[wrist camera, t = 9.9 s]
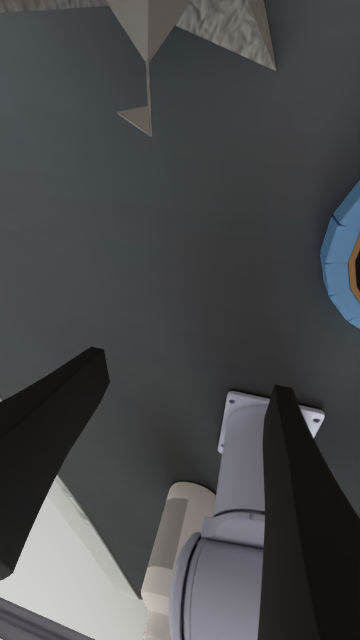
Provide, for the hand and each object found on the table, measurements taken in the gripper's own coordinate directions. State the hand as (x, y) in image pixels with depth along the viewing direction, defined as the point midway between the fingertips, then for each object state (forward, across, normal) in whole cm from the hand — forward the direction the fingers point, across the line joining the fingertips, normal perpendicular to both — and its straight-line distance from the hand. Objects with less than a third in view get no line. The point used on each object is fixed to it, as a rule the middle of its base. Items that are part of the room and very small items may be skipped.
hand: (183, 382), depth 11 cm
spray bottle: (+10, 0, +32) cm, 33 cm away
